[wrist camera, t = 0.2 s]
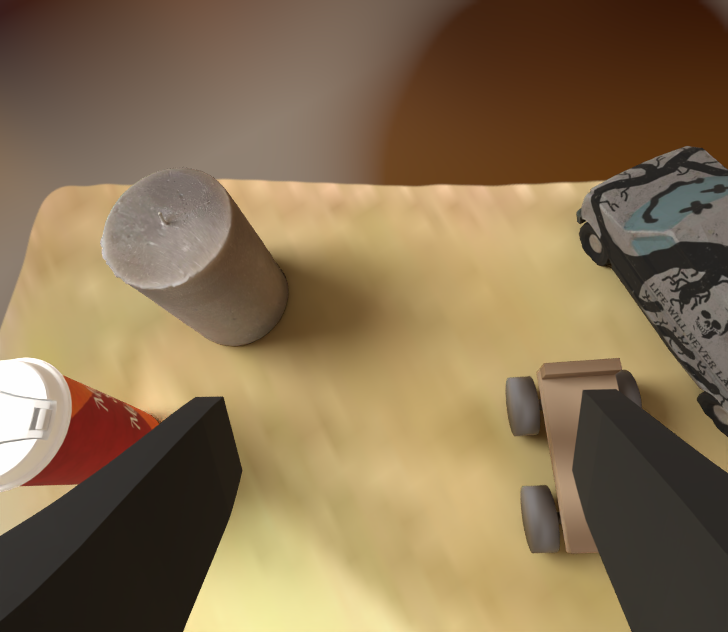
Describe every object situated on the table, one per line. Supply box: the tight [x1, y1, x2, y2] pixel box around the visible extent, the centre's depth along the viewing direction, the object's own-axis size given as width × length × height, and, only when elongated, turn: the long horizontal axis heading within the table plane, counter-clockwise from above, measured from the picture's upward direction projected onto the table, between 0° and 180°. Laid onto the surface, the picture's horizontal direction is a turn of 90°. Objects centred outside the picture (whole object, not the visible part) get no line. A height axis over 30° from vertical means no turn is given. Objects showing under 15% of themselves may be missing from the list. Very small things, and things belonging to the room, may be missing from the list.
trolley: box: [506, 358, 642, 553], centre depth 35 cm, size 12×9×7 cm
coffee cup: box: [0, 358, 159, 492], centre depth 37 cm, size 8×8×15 cm
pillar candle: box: [100, 168, 288, 346], centre depth 40 cm, size 10×10×15 cm
